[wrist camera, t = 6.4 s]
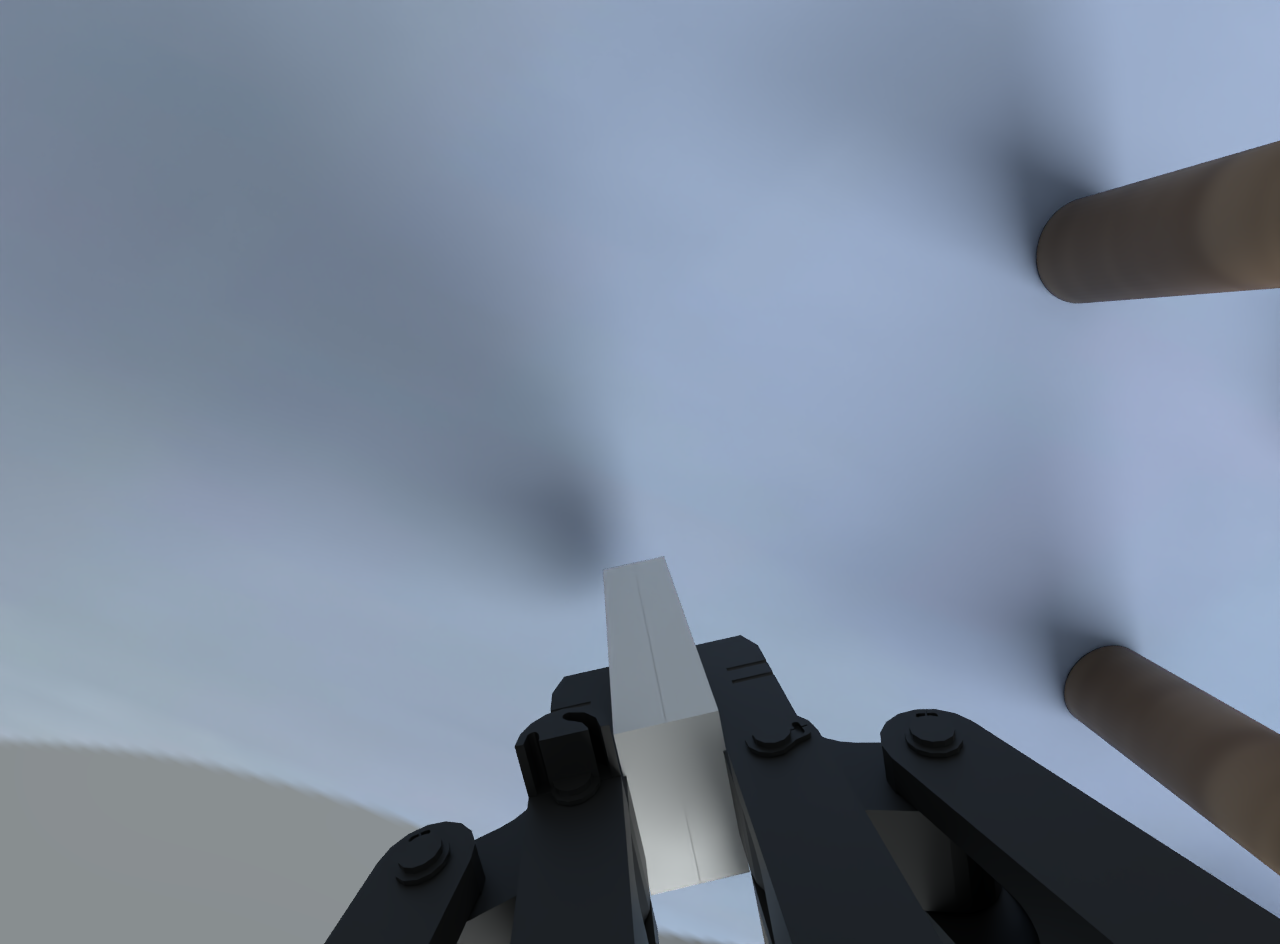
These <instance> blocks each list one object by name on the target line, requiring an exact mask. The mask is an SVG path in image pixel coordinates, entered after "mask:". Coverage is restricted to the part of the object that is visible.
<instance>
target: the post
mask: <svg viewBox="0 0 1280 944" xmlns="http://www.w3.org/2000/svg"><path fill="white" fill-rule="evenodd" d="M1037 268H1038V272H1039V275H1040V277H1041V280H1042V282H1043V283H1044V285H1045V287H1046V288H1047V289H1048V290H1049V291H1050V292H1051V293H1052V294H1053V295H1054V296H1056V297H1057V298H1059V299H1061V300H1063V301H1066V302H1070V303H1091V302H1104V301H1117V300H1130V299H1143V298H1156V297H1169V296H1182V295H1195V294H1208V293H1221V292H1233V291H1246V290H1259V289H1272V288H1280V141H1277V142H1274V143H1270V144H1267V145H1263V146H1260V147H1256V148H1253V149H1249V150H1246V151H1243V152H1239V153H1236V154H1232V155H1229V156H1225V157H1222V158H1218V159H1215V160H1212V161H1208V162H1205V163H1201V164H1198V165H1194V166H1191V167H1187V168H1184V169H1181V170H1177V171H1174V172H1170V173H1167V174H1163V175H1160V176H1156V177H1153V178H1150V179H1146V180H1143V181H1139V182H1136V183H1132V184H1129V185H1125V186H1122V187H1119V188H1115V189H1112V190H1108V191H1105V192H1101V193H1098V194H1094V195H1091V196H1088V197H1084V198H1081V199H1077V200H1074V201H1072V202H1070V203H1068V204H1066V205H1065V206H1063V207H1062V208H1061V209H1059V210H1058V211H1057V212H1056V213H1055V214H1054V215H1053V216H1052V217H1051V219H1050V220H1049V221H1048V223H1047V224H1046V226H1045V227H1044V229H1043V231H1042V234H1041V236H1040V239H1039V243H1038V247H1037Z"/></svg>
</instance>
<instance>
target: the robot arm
mask: <svg viewBox="0 0 1280 944" xmlns="http://www.w3.org/2000/svg"><path fill="white" fill-rule="evenodd" d="M603 579H604V594H605V610H606V626H607V641H608V657H609V667H606V668H601V669H597V670H592V671H588V672H583V673H579V674H574V675H570V676H566V677H564V678H563V679H562V681H561V682H560V683H559V685H558V686H557V688H556V689H555V690H554V692H553V693H552V701H551V713H549V714H547V715H545V716H543V717H541V718H540V719H538V720H536V721H535V722H533V723H531V724H530V725H529V726H528V727H527V728H526V729H525V730H524V731H523V732H522V733H521V734H520V736H519V738H518V740H517V743H516V745H515V749H516V753H517V757H518V760H519V764H520V768H521V771H522V775H523V779H524V782H525V786H526V789H527V793H528V797H529V800H528V808H527V810H526V811H524V812H523V813H522V814H521V815H519V816H518V817H517V818H516V819H514V820H513V821H511V822H509V823H508V824H506V825H504V826H502V827H501V828H499V829H497V830H495V831H492V832H490V833H488V834H486V835H484V836H482V837H480V838H478V839H476V840H474V837H473V834H472V831H471V830H470V829H468V828H467V827H466V826H464V825H463V824H462V823H455V822H447V821H446V822H441V823H436V824H431V825H427V826H425V827H423V828H421V829H419V830H416V831H414V832H412V833H410V834H408V835H407V836H405V837H404V838H403V839H402V840H400V841H399V842H397V843H396V844H395V845H394V846H392V847H391V848H390V849H389V850H388V851H387V853H386V854H385V855H384V856H383V857H382V858H381V860H380V861H379V862H378V863H377V865H376V866H375V868H374V869H373V871H372V872H371V874H370V875H369V877H368V878H367V880H366V881H365V883H364V884H363V886H362V888H361V889H360V890H359V892H358V893H357V895H356V896H355V898H354V899H353V901H352V902H351V904H350V905H349V907H348V909H347V910H346V912H345V913H344V915H343V916H342V918H341V919H340V921H339V922H338V924H337V925H336V927H335V928H334V930H333V931H332V933H331V935H330V936H329V937H328V939H327V940H326V942H325V943H324V944H659V939H658V930H657V925H656V921H655V916H654V912H653V908H652V904H651V900H650V892H651V895H655V894H659V893H663V892H667V891H672V890H676V889H680V888H684V887H688V886H693V885H697V884H701V883H705V882H709V881H714V880H718V879H722V878H726V877H730V876H735V875H739V874H743V873H747V872H750V870H751V875H752V880H753V885H754V890H755V895H756V900H757V906H758V911H759V916H760V921H761V926H762V931H763V936H764V942H765V944H1280V919H1279V918H1278V917H1276V916H1275V915H1273V914H1272V913H1270V912H1268V911H1267V910H1265V909H1264V908H1262V907H1261V906H1259V905H1258V904H1256V903H1254V902H1253V901H1251V900H1250V899H1248V898H1247V897H1245V896H1244V895H1242V894H1240V893H1239V892H1237V891H1236V890H1234V889H1233V888H1231V887H1230V886H1228V885H1226V884H1225V883H1223V882H1222V881H1220V880H1219V879H1217V878H1216V877H1214V876H1212V875H1211V874H1209V873H1208V872H1206V871H1205V870H1203V869H1202V868H1200V867H1198V866H1197V865H1195V864H1194V863H1192V862H1191V861H1189V860H1188V859H1186V858H1184V857H1183V856H1181V855H1180V854H1178V853H1177V852H1175V851H1174V850H1172V849H1170V848H1169V847H1167V846H1166V845H1164V844H1163V843H1161V842H1160V841H1158V840H1156V839H1155V838H1153V837H1152V836H1150V835H1149V834H1147V833H1146V832H1144V831H1142V830H1141V829H1139V828H1138V827H1136V826H1135V825H1133V824H1132V823H1130V822H1128V821H1127V820H1125V819H1124V818H1122V817H1121V816H1119V815H1118V814H1116V813H1114V812H1113V811H1111V810H1110V809H1108V808H1107V807H1105V806H1104V805H1102V804H1100V803H1099V802H1097V801H1096V800H1094V799H1093V798H1091V797H1090V796H1088V795H1086V794H1085V793H1083V792H1082V791H1080V790H1079V789H1077V788H1076V787H1074V786H1072V785H1071V784H1069V783H1068V782H1066V781H1065V780H1063V779H1062V778H1060V777H1058V776H1057V775H1055V774H1054V773H1052V772H1051V771H1049V770H1048V769H1046V768H1044V767H1043V766H1041V765H1040V764H1038V763H1037V762H1035V761H1034V760H1032V759H1031V758H1029V757H1027V756H1026V755H1024V754H1023V753H1021V752H1020V751H1018V750H1017V749H1015V748H1013V747H1012V746H1010V745H1009V744H1007V743H1006V742H1004V741H1003V740H1001V739H999V738H998V737H996V736H995V735H993V734H992V733H990V732H989V731H987V730H985V729H984V728H982V727H981V726H979V725H978V724H976V723H975V722H973V721H971V720H969V719H967V718H964V717H962V716H960V715H958V714H956V713H951V712H946V711H942V710H937V709H917V710H912V711H908V712H904V713H900V714H898V715H896V716H895V717H893V718H892V719H890V720H889V721H887V722H886V723H885V725H884V727H883V729H882V731H881V732H880V736H881V743H852V742H840V741H835V740H831V739H827V738H824V737H822V736H821V734H820V733H819V731H818V730H817V729H816V728H815V727H814V726H813V725H812V724H811V723H810V721H808V720H806V719H804V718H802V717H799V716H797V715H796V713H795V711H794V709H793V708H792V706H791V704H790V702H789V700H788V699H787V697H786V695H785V693H784V691H783V690H782V688H781V686H780V684H779V682H778V681H777V679H776V677H775V675H774V674H773V672H772V670H771V668H770V666H769V665H768V663H767V662H766V659H765V657H764V656H763V654H762V652H761V650H760V648H759V647H758V645H757V644H755V643H753V642H751V641H750V640H748V639H746V638H744V637H743V636H741V635H739V636H735V637H730V638H726V639H721V640H717V641H713V642H708V643H704V644H699V645H695V643H694V640H693V637H692V634H691V631H690V629H689V626H688V623H687V620H686V617H685V614H684V611H683V609H682V606H681V603H680V600H679V597H678V594H677V592H676V589H675V586H674V583H673V580H672V577H671V575H670V572H669V569H668V566H667V563H666V560H665V558H664V556H663V557H658V558H654V559H649V560H645V561H640V562H636V563H631V564H626V565H622V566H617V567H613V568H608V569H604V570H603ZM748 864H749V865H748ZM749 867H750V870H749ZM649 887H650V892H649Z"/></svg>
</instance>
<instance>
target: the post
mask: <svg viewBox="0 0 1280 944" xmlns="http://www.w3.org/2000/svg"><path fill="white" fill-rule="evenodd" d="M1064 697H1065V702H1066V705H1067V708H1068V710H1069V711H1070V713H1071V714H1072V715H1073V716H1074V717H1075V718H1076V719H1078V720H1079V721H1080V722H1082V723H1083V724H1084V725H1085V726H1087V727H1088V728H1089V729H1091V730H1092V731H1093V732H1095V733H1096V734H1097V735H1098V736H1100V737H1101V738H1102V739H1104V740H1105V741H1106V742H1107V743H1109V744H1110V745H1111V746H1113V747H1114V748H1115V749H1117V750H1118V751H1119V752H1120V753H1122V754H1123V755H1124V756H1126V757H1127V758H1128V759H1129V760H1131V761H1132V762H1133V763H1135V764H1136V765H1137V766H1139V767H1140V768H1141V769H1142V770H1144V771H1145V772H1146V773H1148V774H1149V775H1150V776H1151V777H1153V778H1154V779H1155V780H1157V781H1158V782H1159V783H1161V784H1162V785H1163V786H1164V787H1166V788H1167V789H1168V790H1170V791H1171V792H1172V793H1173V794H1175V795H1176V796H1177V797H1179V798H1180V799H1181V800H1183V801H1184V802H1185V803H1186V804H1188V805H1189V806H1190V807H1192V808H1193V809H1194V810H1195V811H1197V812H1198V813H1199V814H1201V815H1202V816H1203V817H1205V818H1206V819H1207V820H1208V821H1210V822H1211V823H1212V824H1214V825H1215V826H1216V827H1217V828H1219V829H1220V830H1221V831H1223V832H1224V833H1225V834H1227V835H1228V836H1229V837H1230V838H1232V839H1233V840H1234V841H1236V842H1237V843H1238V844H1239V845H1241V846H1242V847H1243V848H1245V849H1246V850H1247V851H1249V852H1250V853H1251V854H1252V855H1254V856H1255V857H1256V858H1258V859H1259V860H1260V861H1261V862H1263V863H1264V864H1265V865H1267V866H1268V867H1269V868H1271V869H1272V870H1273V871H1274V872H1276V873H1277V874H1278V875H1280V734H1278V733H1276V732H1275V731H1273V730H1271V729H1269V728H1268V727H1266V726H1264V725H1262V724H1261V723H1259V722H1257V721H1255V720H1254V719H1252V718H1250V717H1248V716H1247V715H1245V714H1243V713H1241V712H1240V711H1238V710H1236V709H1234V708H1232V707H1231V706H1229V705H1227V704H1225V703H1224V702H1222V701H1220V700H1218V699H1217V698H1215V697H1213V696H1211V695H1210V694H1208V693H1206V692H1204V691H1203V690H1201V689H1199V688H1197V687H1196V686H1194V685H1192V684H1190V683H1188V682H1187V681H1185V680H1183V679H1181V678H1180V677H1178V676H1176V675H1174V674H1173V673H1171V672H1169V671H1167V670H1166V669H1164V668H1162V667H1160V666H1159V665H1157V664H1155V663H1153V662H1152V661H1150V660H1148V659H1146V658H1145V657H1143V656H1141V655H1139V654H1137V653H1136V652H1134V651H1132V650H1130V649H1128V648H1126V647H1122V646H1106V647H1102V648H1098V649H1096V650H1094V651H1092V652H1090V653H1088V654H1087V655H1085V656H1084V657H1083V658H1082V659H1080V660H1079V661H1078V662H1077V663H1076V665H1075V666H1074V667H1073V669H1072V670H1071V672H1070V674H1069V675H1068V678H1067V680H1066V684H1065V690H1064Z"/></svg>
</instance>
